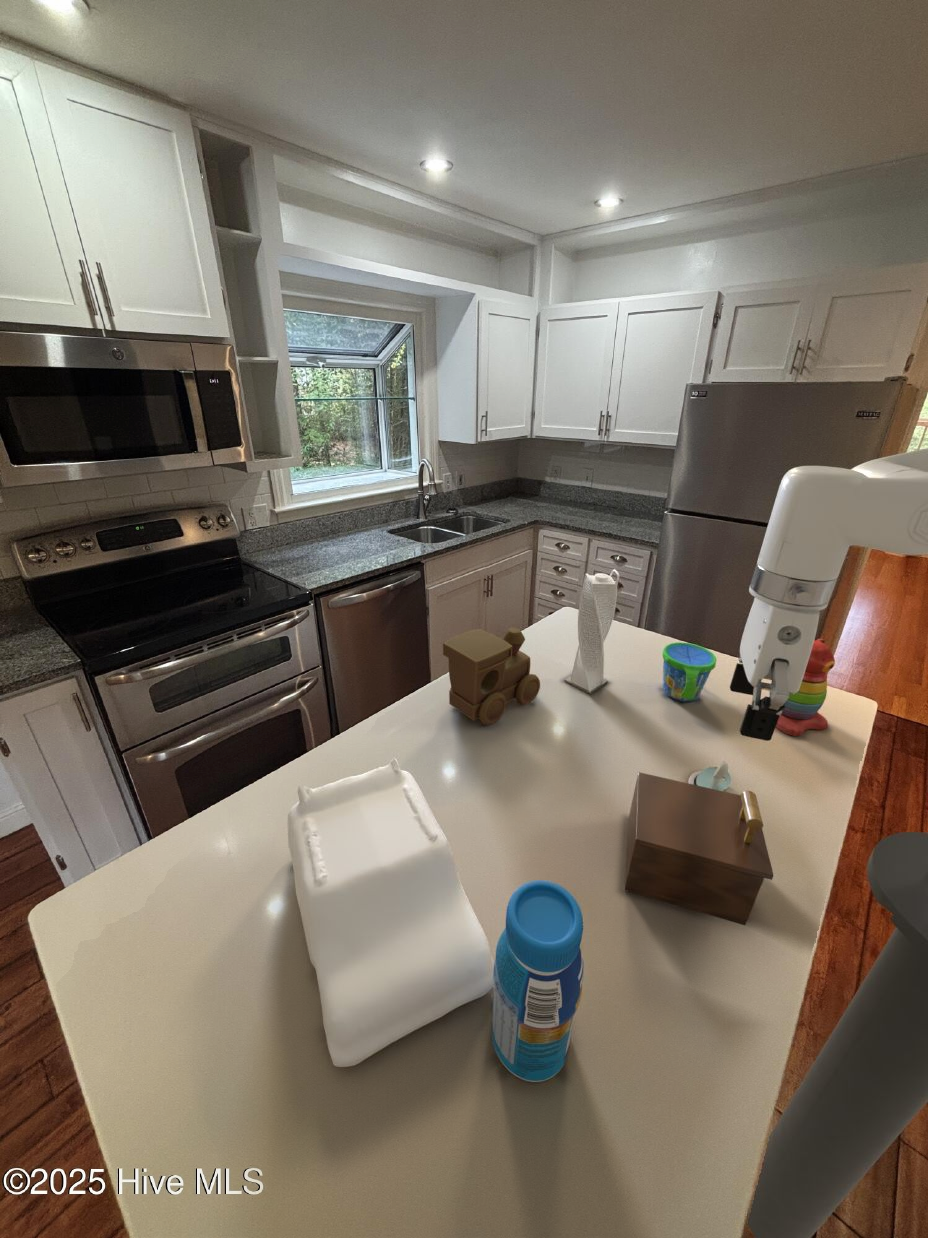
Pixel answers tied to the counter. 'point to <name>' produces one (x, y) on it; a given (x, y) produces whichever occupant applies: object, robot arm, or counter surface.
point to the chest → (688, 880)
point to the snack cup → (686, 670)
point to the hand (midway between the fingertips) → (748, 713)
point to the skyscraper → (593, 630)
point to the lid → (702, 824)
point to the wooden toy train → (489, 673)
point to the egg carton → (382, 911)
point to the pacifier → (712, 777)
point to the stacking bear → (808, 694)
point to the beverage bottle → (537, 980)
